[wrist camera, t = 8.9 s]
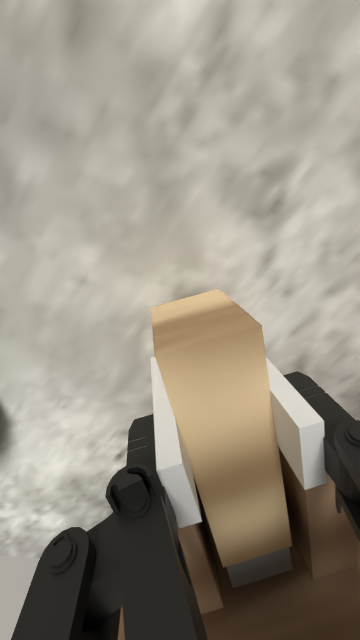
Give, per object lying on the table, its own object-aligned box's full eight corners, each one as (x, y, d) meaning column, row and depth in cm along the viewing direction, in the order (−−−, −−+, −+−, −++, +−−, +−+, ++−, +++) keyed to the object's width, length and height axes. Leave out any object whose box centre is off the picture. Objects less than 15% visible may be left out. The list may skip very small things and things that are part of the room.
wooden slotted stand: (89, 445, 16) (-36, 956, 5) (335, 375, 16) (731, 697, 5) (134, 531, 19) (119, 949, 8) (336, 471, 20) (581, 790, 9)
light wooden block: (150, 307, 13) (154, 355, 8) (218, 288, 13) (261, 325, 8) (207, 494, 18) (230, 589, 13) (256, 479, 18) (295, 568, 13)
